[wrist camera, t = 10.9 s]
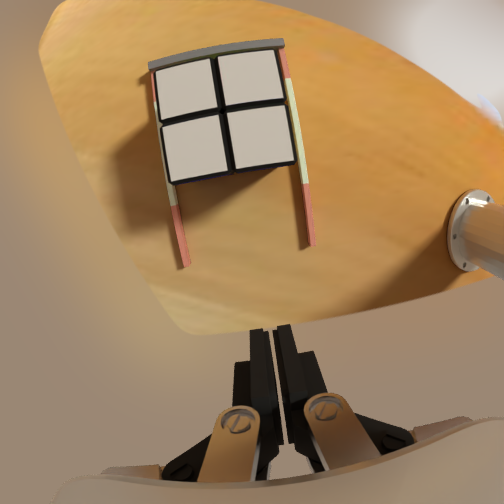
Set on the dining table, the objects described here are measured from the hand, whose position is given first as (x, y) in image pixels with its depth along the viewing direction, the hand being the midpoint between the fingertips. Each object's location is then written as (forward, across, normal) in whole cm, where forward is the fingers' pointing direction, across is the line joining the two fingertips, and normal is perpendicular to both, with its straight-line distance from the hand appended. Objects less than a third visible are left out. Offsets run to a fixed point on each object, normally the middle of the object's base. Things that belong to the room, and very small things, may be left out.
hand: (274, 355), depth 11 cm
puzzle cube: (+22, +1, -12) cm, 25 cm away
